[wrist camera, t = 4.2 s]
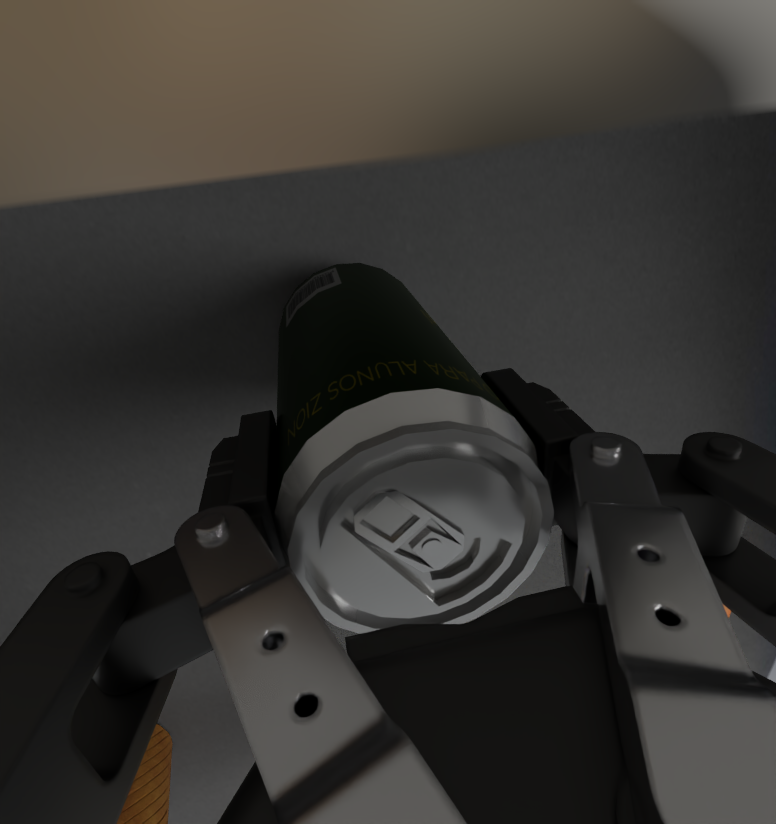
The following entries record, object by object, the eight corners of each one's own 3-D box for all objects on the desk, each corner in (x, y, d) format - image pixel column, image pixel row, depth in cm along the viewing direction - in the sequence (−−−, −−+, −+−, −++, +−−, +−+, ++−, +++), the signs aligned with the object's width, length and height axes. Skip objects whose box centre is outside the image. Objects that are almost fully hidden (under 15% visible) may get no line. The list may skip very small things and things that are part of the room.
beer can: (249, 336, 19) (207, 579, 8) (343, 225, 17) (431, 349, 7) (354, 414, 21) (422, 676, 11) (443, 321, 20) (617, 518, 10)
